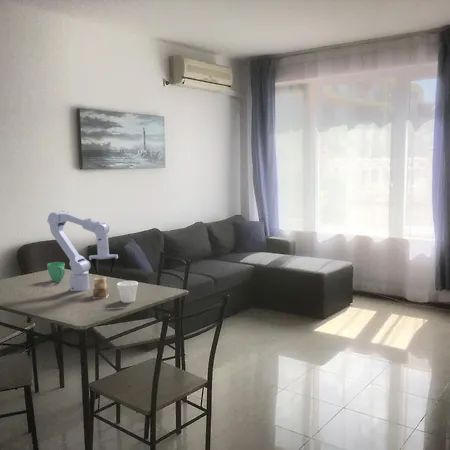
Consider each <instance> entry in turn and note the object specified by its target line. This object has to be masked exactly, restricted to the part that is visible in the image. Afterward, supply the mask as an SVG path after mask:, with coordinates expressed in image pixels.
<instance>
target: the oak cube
mask: <svg viewBox="0 0 450 450" xmlns="http://www.w3.org/2000/svg"><path fill="white" fill-rule="evenodd" d="M107 283H108V282H107V277H106V276H99V277H98V276H96V277H95V278H93V284H94V285H93V286H94V289H95V290H97V289H105V288H106V287H108V284H107Z"/></svg>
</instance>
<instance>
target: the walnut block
mask: <svg viewBox="0 0 450 450" xmlns="http://www.w3.org/2000/svg"><path fill="white" fill-rule="evenodd" d="M92 291H93V292H92V293H93V297H94V298H93V299H107V298H108V297H109V296H108V294H109V287H108V286H107V287H106V288H105V289H97V290H95V288H93V289H92ZM107 296H108V297H107ZM106 297H107V298H106Z"/></svg>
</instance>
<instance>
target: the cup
mask: <svg viewBox="0 0 450 450" xmlns="http://www.w3.org/2000/svg"><path fill="white" fill-rule="evenodd" d="M138 286H139V282H138V281H136V280H124V281H120V282H117V283H116V287H117V291H118V294H119V298H120V301H121V303H127V304H128V303H133V302H135V301H136V299H137V298H136V297H137V291H138Z"/></svg>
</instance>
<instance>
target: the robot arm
mask: <svg viewBox="0 0 450 450" xmlns="http://www.w3.org/2000/svg"><path fill="white" fill-rule="evenodd" d="M46 221H47V223H48V225H49V229H50V230H49V231H50V233H51V235H52V237H53V238H54V239H55V241H56V242H57V243H58V245H59V246H60V248H61V249H62V251H63V252H64V253H65V255H66V256H67V258H68V259H69V266H70V270H71V272H72V274H70V276H69V289H70V290H69V291H70V292H76V291H77V292H84V291H88V290H90V277H89V275H90V274H89V272H90V271H89V270H90V269H91V266H92V265H93V268H94V270H95V273H96V274H99V271H100V270H99V260H107V259H109V263H110V272H111V274H113V273H114V269H115V264H116V262H117V259H118V258H119V255H118V253H117V254H113V253H111V254H110V249H109V248H110V247H109V246H110V245H109V237H108V236H109V234H108V233H109V231H110V226H109V225H108V223H105V222H100V221H96V220H94V219H92V218H91V217H89V218H87V217H86V218H84V219H83V218H81V217H79V216H77V215H74V214H72V213H70V212H68V211H65V210H64V211H63V210H60V211H55V212H50V213H49V214H48V217H47V220H46ZM67 222H69V223H72V224H76V225H78V226H81V227H82V229H83V230H86V231H89V232H91V233H94V234H95V236H96V249H97V250H96V251H97V254H94V255H93V254H92V255H89V256H88V259H89V260H90V261H89V260H87V259H86V258H85V257H84V256H83V255H81V254H79V251H78V250H77V249H76V248H75V246H74V245H73V243H72V241H70V239H69V238H68V236H67V235H66V233H65V232H64V230H63V229H64V227H65V225H66V223H67ZM91 264H92V265H91Z"/></svg>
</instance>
